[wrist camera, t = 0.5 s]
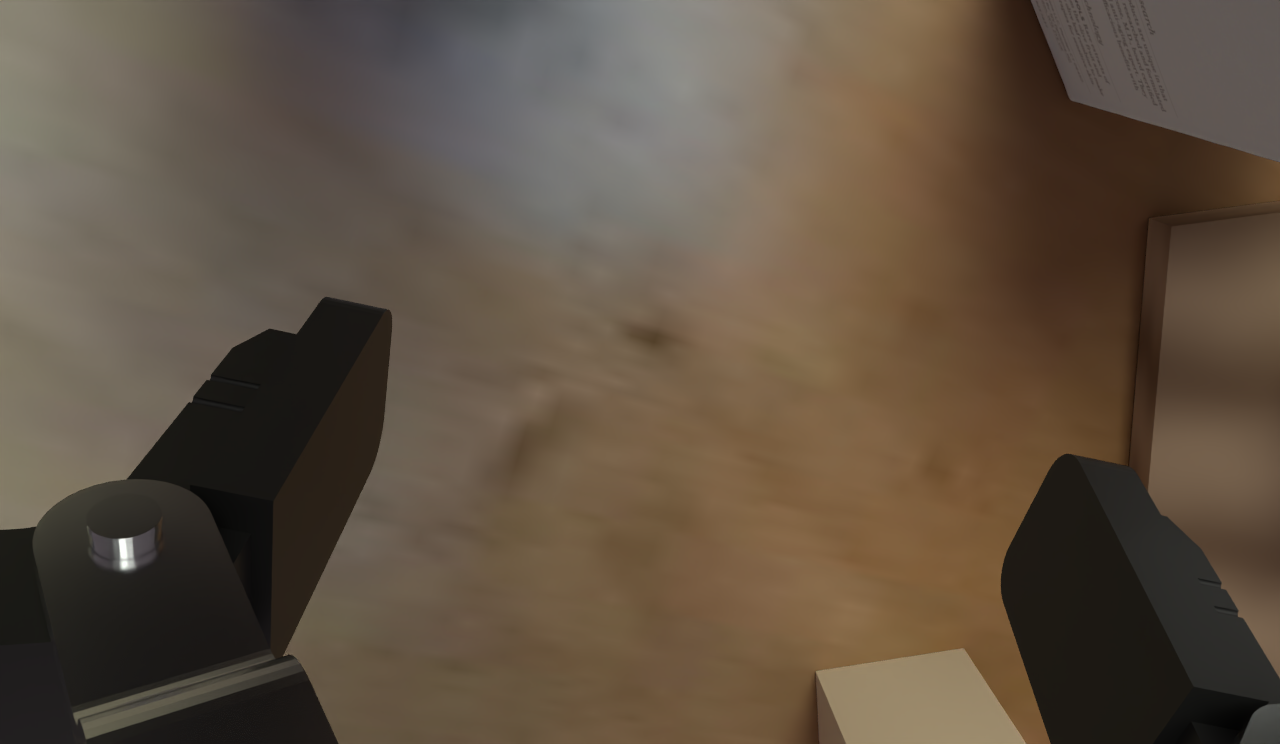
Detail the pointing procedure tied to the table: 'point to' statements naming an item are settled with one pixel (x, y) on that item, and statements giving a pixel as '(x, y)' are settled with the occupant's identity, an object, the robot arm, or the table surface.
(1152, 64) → the skincare box
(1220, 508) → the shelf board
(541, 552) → the table surface
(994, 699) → the kraft carton
